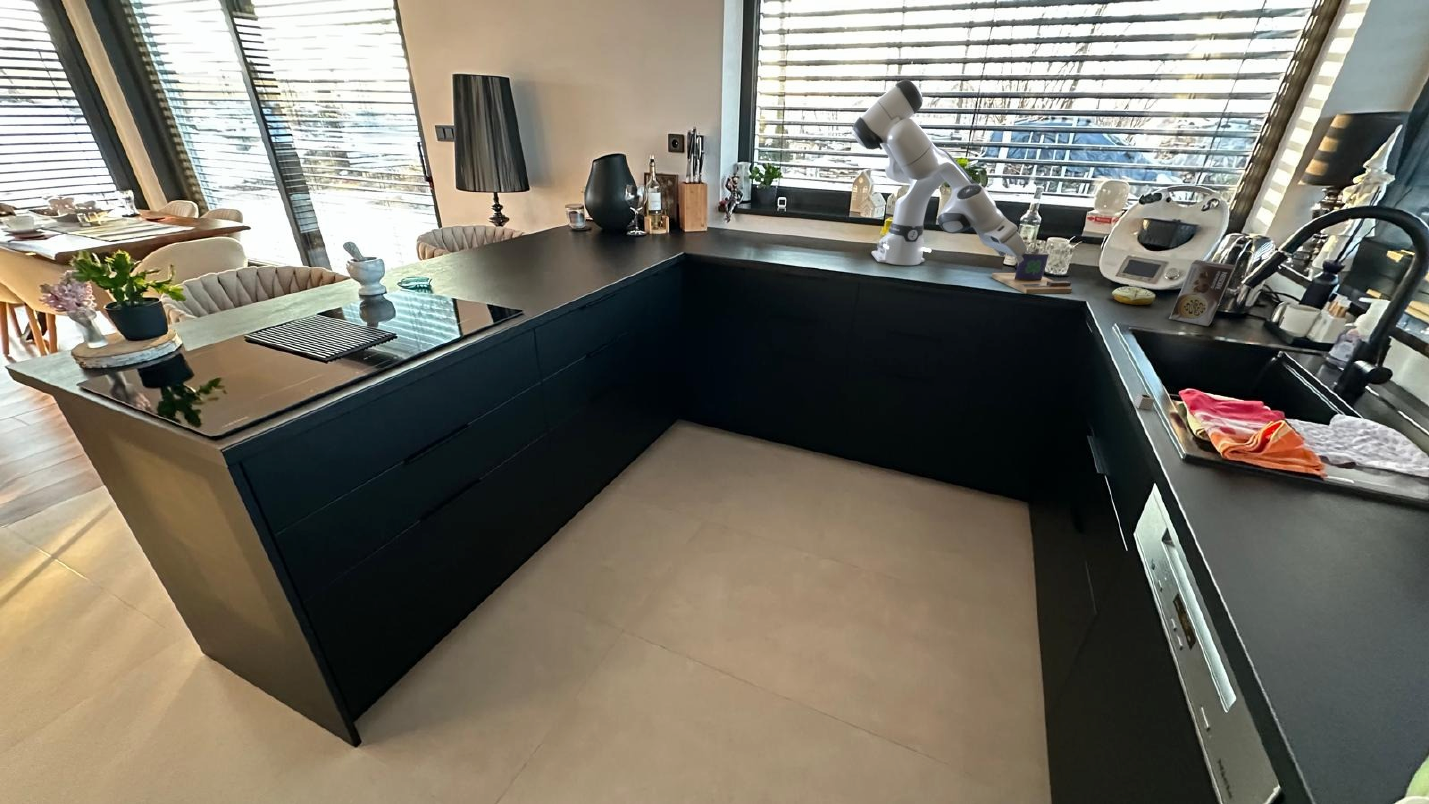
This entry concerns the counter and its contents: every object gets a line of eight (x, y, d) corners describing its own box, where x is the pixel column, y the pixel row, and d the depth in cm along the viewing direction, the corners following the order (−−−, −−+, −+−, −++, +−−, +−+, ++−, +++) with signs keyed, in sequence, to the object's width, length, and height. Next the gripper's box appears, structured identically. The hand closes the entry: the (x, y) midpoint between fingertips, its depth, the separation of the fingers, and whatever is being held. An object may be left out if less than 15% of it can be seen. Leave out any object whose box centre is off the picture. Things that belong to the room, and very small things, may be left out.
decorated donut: (1102, 297, 177) (1107, 286, 175) (1128, 295, 179) (1132, 284, 178) (1133, 307, 168) (1137, 295, 166) (1159, 305, 170) (1164, 293, 169)
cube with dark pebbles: (1138, 408, 108) (1143, 396, 107) (1133, 403, 110) (1138, 392, 109) (1150, 409, 108) (1155, 398, 107) (1145, 404, 110) (1150, 393, 109)
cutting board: (990, 277, 196) (991, 273, 196) (1032, 276, 198) (1033, 272, 198) (1025, 293, 179) (1026, 289, 178) (1070, 292, 181) (1072, 288, 180)
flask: (1039, 278, 190) (1048, 247, 185) (1043, 281, 188) (1053, 248, 183) (1012, 278, 190) (1021, 246, 185) (1016, 280, 187) (1025, 248, 182)
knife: (1020, 285, 182) (1022, 281, 182) (1065, 284, 184) (1066, 280, 184) (1025, 286, 180) (1026, 283, 180) (1070, 286, 182) (1071, 282, 182)
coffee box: (1211, 322, 157) (1237, 265, 150) (1208, 327, 153) (1234, 268, 146) (1172, 314, 163) (1195, 258, 155) (1168, 318, 159) (1191, 262, 151)
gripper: (966, 228, 189) (986, 257, 195) (1002, 241, 171) (1022, 272, 177) (982, 215, 187) (1001, 244, 193) (1019, 226, 169) (1039, 258, 175)
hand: (1011, 257), depth 185 cm, fingers open, 8 cm apart
